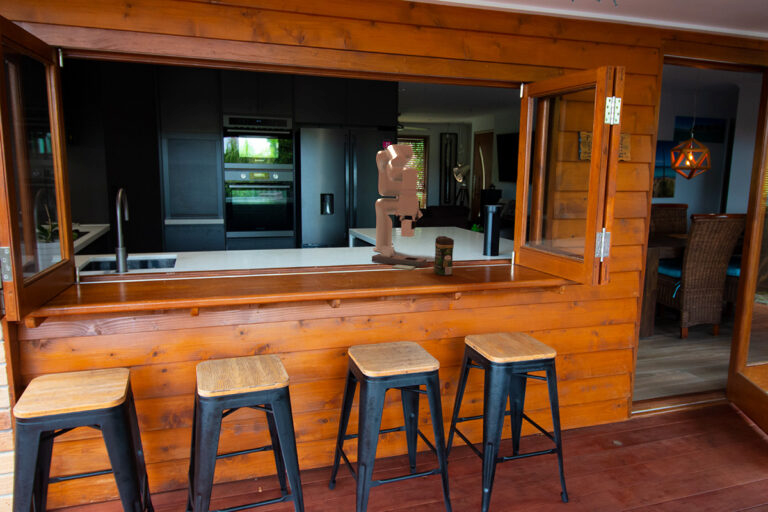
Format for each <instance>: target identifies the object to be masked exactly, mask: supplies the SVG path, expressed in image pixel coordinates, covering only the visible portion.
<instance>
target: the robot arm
mask: <svg viewBox="0 0 768 512" xmlns="http://www.w3.org/2000/svg"><path fill="white" fill-rule="evenodd" d="M413 151H414V150H413V148H412V146H411V145H408V144H391V145H389V146H387V148H386V150H379V151H378V152H377V153H376V157H375V158H376V159H375V161H376V165H377V169H378V194H379V195H380V196H382V198H378V199H377V200H376V201H375V206H374V207H375V215H376V222H375V223H376V225H375V226H376V227H375V229H376V230H375V247H373V249H372V250H373V252H377V253H381V247H384V246H389V247H394V246H393V245H394V243H393V241H392V240H393V221H392V218H391V216H389V215H395V216H396V217H397V218H398V219H399V223H400V224H399V225H400V227H401V225H402V220H405V216H410V217H411V218H412V219H411V220H413V221H412V229H414V230H415V229H416V228H417V221H418V220H419V219H420V218H421V217H423V213H422V211H421V210H420V203H419V196H418V194H417V191H418V169H417V168H414V167H405V166H406V165H407V164H408V163H409V162H410V161H412V159H413V155H414V152H413ZM383 197H384V198H383ZM385 197H386V198H385ZM388 197H389V198H388ZM391 197H392V198H391ZM393 197H396V198H393Z"/></svg>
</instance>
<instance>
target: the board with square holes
mask: <svg viewBox="0 0 768 512" xmlns="http://www.w3.org/2000/svg"><path fill="white" fill-rule="evenodd" d="M427 261H428V259H427V258H421V257H412V256H402V255H394V257H391V258H388V257H381V253H376V254H374V255H371V262H372V263H380V264H388V265H389V264H390V265H405V266H414V267H415V268H422V267H425V266H427Z"/></svg>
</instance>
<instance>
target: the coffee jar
mask: <svg viewBox="0 0 768 512" xmlns="http://www.w3.org/2000/svg"><path fill="white" fill-rule="evenodd" d="M454 242H455V241H454V239H453V238H450V237H448V236H445V235H438V236H436V237H435V241H434V246H435V251H434V253H435V254H434V265H433V273H435V274H436V275H439V276H444V277H445V276H446V277H448V276H451V275H453V257H454V256H453V255H454V254H453V253H454V244H455V243H454ZM447 275H448V276H447Z"/></svg>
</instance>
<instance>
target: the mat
mask: <svg viewBox="0 0 768 512" xmlns="http://www.w3.org/2000/svg"><path fill="white" fill-rule="evenodd" d="M391 268H392V269H398V270H406V271H411V270H414V269H416V267H414V266H405V265H396V264H394V265H393V266H391Z"/></svg>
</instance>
